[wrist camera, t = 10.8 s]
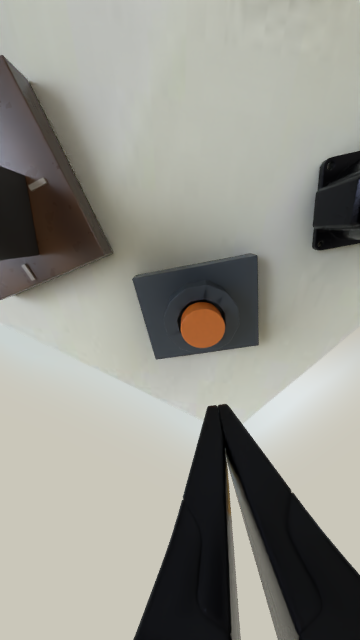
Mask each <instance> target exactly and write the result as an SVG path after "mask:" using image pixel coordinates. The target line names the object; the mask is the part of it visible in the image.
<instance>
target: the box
mask: <svg viewBox="0 0 360 640" xmlns="http://www.w3.org/2000/svg"><path fill="white" fill-rule="evenodd" d="M37 255H39V251H38V246H37V240H36V235H35V229H34V224H33V218H32V213H31V207H30V202H29V196H28V190H27V185H26V179H25V175H23V174H20V173H17V172H15V171H12V170H10V169H7V168H4V167H2V166H0V260H8V259H15V258H23V257H30V256H37Z"/></svg>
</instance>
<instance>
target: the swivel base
mask: <svg viewBox="0 0 360 640" xmlns="http://www.w3.org/2000/svg"><path fill="white" fill-rule="evenodd" d="M0 166H2V167H4V168H7V169H10V170H12V171H15V172H17V173H20V174H23V175H25V179H26V185H27V190H28V196H29V202H30V207H31V213H32V218H33V224H34V229H35V235H36V240H37V246H38V251H39V255H37V256H30V257H23V258H15V259H8V260H0V300H2V299H5V298H8V297H11V296H14V295H16V294H18V293H21V292H23V291H25V290H28V289H30V288H32V287H35V286H37V285H40V284H42V283H44V282H47V281H49V280H51V279H54V278H56V277H58V276H61V275H63V274H65V273H68V272H70V271H73V270H75V269H77V268H80V267H82V266H84V265H87V264H89V263H91V262H94V261H96V260H99V259H101V258H103V257H106V256H108V255H110V254H113V252H112V250H111V248H110V246H109V244H108V242H107V240H106V237H105V235H104V233H103V231H102V229H101V227H100V225H99V223H98V221H97V219H96V217H95V215H94V213H93V211H92V209H91V207H90V205H89V203H88V201H87V199H86V197H85V195H84V193H83V191H82V189H81V187H80V185H79V183H78V181H77V179H76V177H75V175H74V173H73V171H72V169H71V167H70V165H69V162H68V160H67V158H66V156H65V154H64V152H63V150H62V148H61V146H60V144H59V142H58V140H57V138H56V136H55V134H54V132H53V130H52V128H51V126H50V124H49V122H48V120H47V118H46V116H45V114H44V112H43V110H42V108H41V106H40V104H39V102H38V100H37V98H36V96H35V94H34V92H33V90H32V88H31V85H30V83H29V81H28V80H27V79H26V78H25V77H24V76H23V75H22V74H21V73H20V72H19V71H18V70H17V69H16V68H15V67H14V66H13V65H12V64H11V63H10V62H9V61H8V60H7V59H6V58H5V57H4V56H3V55H1V56H0Z"/></svg>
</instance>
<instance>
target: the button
mask: <svg viewBox="0 0 360 640" xmlns="http://www.w3.org/2000/svg"><path fill="white" fill-rule="evenodd" d="M224 332H225V323H224V320H223V318H222V316H221V313H220V311H219V310H218V309H217V307H215V306H214V305H213V304H210V303H208V302H197V303H194V304H191V305H190V306H188V307H187V308H186V309H185V311H184V312H183V314H182V317H181V334H182V337H183V338H184V340H185V341H186V342H187V343H188V344H190V345H192V346H194V347H197V348H207V347H211V346H213V345H215V344H216V343H218V342H219V341H220V340H221V338H222V337H223V335H224Z"/></svg>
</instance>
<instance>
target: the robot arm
mask: <svg viewBox="0 0 360 640" xmlns="http://www.w3.org/2000/svg"><path fill="white" fill-rule="evenodd" d="M328 163H329V164H330V169H329V170H328V169H327V165H328ZM313 227H314V232H313V242H312V247H313V249H315V250H324V249H330V248H335V247H341V246H346V245H352V244H357V243H360V151H357V152H353V153H348V154H344V155H340V156H335V157H331V158H329V159H327V160H325V161H324V162H323V163H322V165H321V167H320V173H319V183H318V191H317V193H316V199H315V210H314V220H313ZM320 241H321V245H320V246H319V247H318V243H319V242H320ZM226 458H227V460H226ZM227 463H228V466H229V470H230V474H231V477H232V481H233V484H234V488H235V491H236V495H237V498H238V502H239V505H240V509H241V512H242V516H243V519H244V523H245V526H246V530H247V533H248V537H249V540H250V544H251V547H252V551H253V554H254V558H255V561H256V565H257V568H258V572H259V575H260V578H261V582H262V585H263V589H264V592H265V596H266V599H267V603H268V607H269V610H270V613H271V617H272V621H273V624H274V627H275V631H276V634H277V638H278V640H360V575H359V574H358V572H357V571H356V570H355V569H354V568H353V567H352V565H351V564H350V563H349V562H348V561H347V560H346V559H345V557H344V556H343V555H342V554H341V553H340V552H339V550H338V549H337V548H336V547H335V545H334V544H333V543H332V542H331V541H330V539H329V538H328V537H327V536H326V535H325V533H324V532H323V531H322V530H321V529H320V527H319V526H318V525H317V523H316V522H315V521H314V519H313V518H312V517H311V516H310V514H309V513H308V512H307V510H305V508H304V507H303V505H302V504H301V503H300V501H299V500H298V499H297V497H296V496H295V494H294V493H291V489H290V488H289V487H288V485H287V484H286V483H285V481H284V480H283V478H282V477H281V476H280V474H279V473H278V472H277V470H276V469H275V468H274V466H273V465H272V464H271V462H270V461H269V460H268V458H267V457H266V456H265V454H264V453H263V452H262V450H261V449H260V447H259V446H258V445H257V444H256V442H255V441H254V439H253V438H252V437H251V436H250V434H249V433H248V431H247V430H246V429H245V427H244V426H243V425H242V423H241V422H240V421H239V419H238V418H237V417H236V415H235V414H234V412H233V411H232V410H231V408H230V407H229V406H228V405H227V404H222V405H218V407H217V406H216V405H213V406H208V407H207V411H206V414H205V418H204V422H203V425H202V429H201V433H200V437H199V440H198V444H197V447H196V451H195V455H194V458H193V462H192V466H191V469H190V473H189V477H188V480H187V484H186V488H185V492H184V495H183V499H184V500H182V503H181V506H180V509H179V513H178V516H177V520H176V523H175V526H174V530H173V533H172V536H171V539H170V542H169V545H168V548H167V551H166V554H165V557H164V560H163V562H162V565H161V568H160V571H159V573H158V576H157V579H156V581H155V584H154V587H153V589H152V592H151V595H150V597H149V600H148V603H147V605H146V608H145V611H144V613H143V616H142V619H141V621H140V624H139V627H138V629H137V632H136V635H135V637H134V640H241V639H240V625H239V612H238V599H237V586H236V574H235V573H236V572H235V559H234V546H233V533H232V520H231V507H230V493H229V480H228V469H227Z"/></svg>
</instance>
